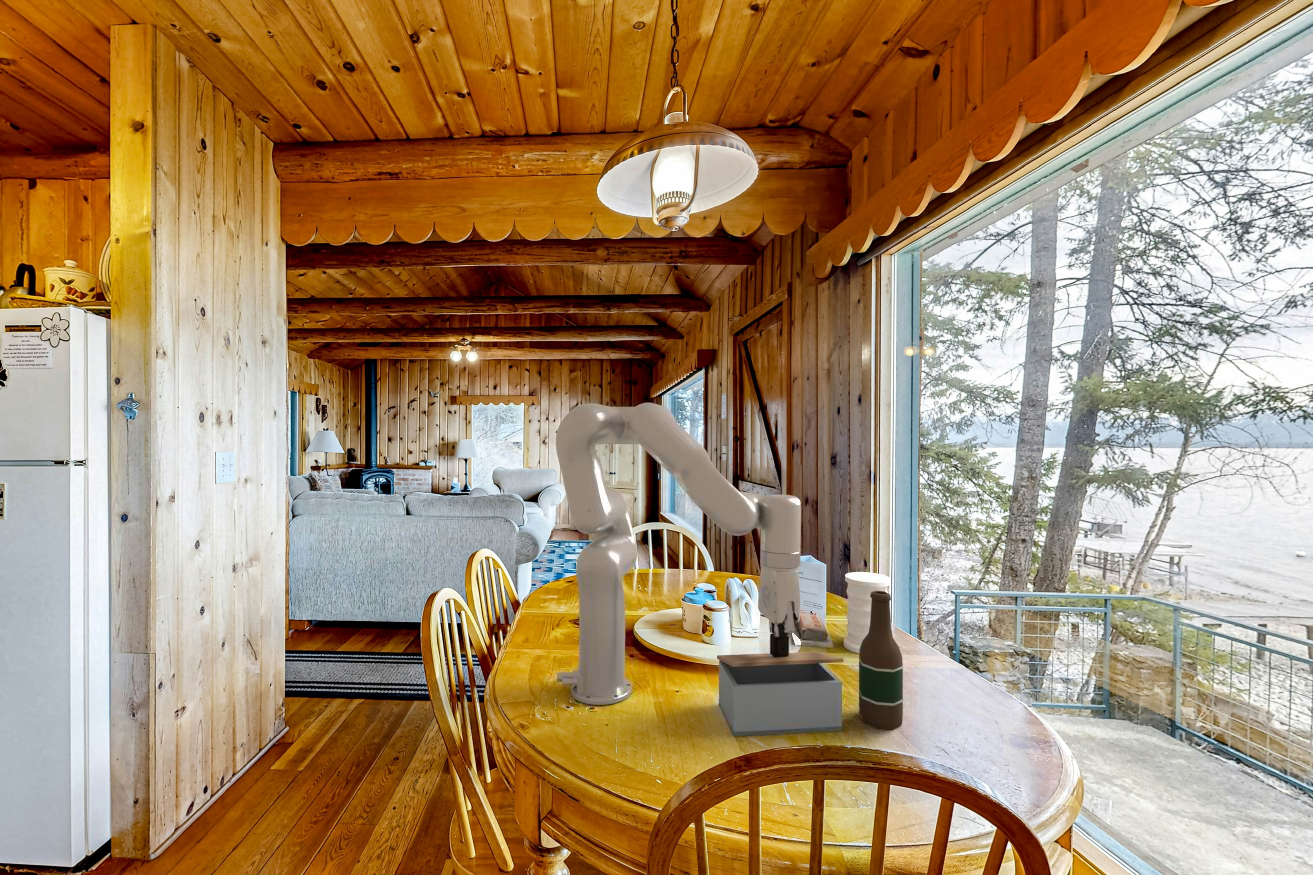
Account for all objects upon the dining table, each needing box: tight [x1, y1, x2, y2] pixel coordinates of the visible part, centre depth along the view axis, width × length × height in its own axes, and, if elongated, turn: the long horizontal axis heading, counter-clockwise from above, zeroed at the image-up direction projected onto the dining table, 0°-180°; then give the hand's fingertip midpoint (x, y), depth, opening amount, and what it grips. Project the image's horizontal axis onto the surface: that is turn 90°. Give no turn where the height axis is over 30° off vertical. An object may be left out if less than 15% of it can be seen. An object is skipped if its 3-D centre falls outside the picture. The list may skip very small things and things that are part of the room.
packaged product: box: [793, 612, 835, 649], centre depth 151 cm, size 18×5×10 cm
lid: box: [716, 651, 845, 667], centre depth 106 cm, size 21×13×1 cm, turn 97°
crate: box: [718, 659, 843, 738], centre depth 105 cm, size 20×12×9 cm, turn 96°
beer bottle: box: [858, 591, 904, 731], centre depth 105 cm, size 8×8×24 cm
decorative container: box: [843, 571, 891, 654], centre depth 142 cm, size 12×12×18 cm
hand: (779, 655), depth 106 cm, fingers closed
